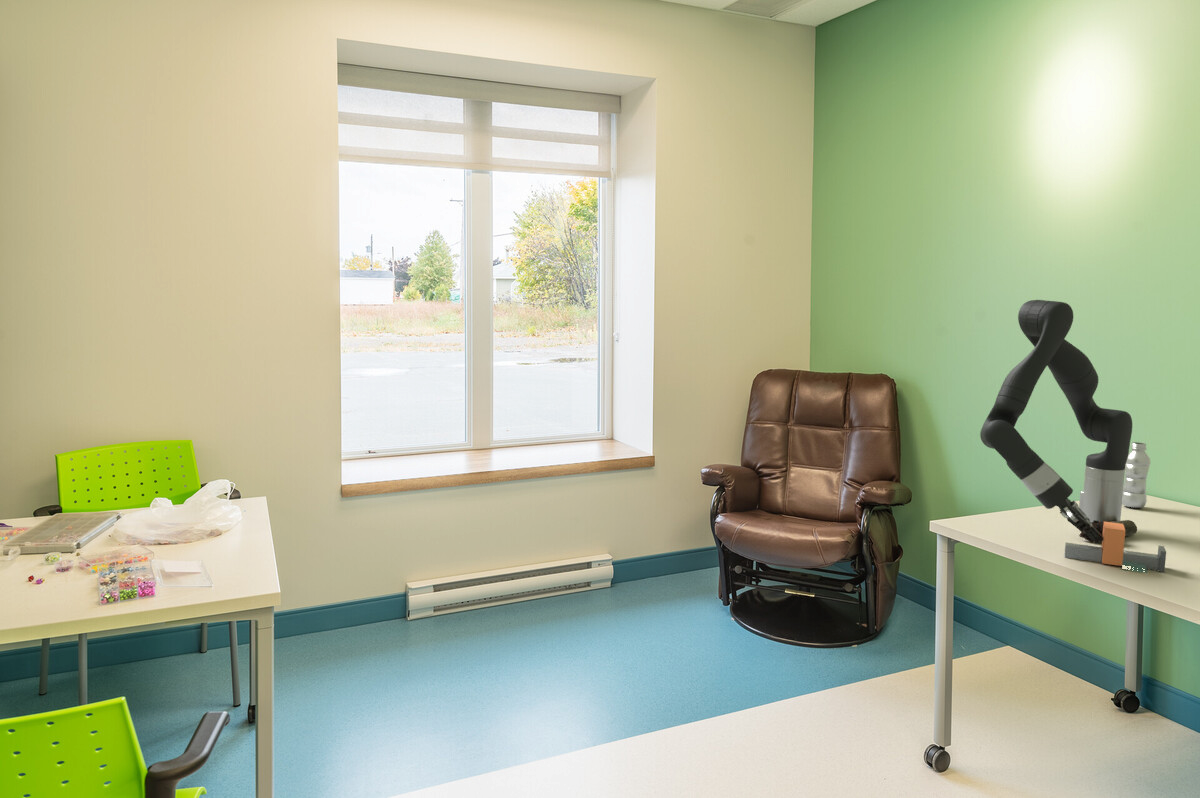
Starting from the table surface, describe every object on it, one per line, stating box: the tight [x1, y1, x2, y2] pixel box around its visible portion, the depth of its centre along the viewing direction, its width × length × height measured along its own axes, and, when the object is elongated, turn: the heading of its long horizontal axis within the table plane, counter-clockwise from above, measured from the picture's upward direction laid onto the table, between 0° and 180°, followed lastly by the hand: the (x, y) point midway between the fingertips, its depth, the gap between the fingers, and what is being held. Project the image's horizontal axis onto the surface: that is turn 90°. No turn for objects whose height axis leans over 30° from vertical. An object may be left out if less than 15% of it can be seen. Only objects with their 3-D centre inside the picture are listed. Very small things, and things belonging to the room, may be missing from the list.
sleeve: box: [1101, 522, 1126, 567], centre depth 194 cm, size 4×7×9 cm, turn 151°
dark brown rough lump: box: [1078, 519, 1138, 542], centre depth 214 cm, size 18×7×6 cm, turn 114°
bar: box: [1064, 542, 1167, 574], centre depth 194 cm, size 20×10×5 cm, turn 61°
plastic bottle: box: [1122, 441, 1151, 509], centre depth 248 cm, size 6×7×20 cm
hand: (1100, 541), depth 195 cm, fingers closed
